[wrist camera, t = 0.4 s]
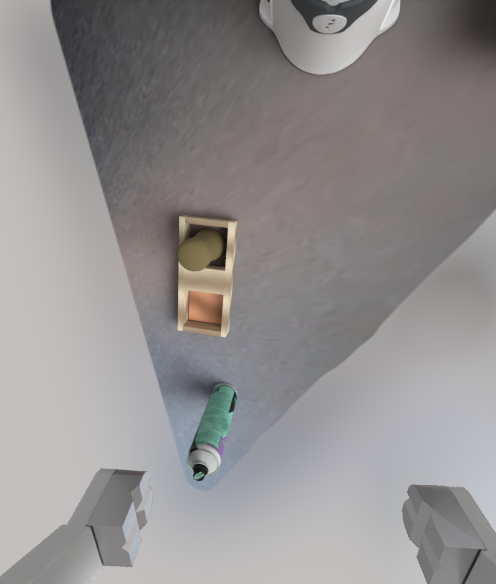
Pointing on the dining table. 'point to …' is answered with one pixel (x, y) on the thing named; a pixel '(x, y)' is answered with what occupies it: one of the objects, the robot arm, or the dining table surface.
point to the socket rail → (206, 284)
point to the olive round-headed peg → (201, 249)
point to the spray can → (212, 432)
